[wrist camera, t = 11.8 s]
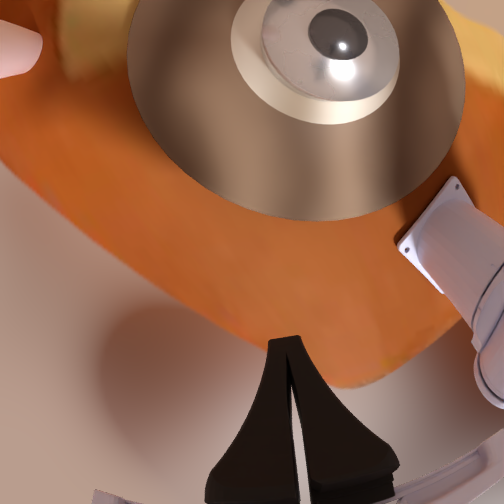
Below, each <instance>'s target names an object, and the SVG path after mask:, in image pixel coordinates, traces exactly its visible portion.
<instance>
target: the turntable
mask: <svg viewBox="0 0 504 504" xmlns="http://www.w3.org/2000/svg"><path fill="white" fill-rule="evenodd" d="M271 1H272V0H140V2H139V4H138V6H137V8H136V11H135V13H134V16H133V19H132V23H131V27H130V31H129V36H128V46H127V66H128V77H129V81H130V86H131V90H132V94H133V98H134V100H135V103H136V105H137V108H138V110H139V112H140V115H141V117H142V119H143V121H144V123H145V124H146V126H147V128H148V129H149V131H150V133H151V134H152V136H153V138H154V139H155V140H156V142H157V143H158V144H159V145H160V147H161V148H162V149H163V150H164V152H165V153H166V154H167V155H168V157H169V158H170V159H172V160H173V161H174V162H175V163H176V164H177V165H178V166H179V167H180V168H181V169H182V170H183V171H184V172H185V173H186V174H188V175H189V176H190V177H192V178H193V179H194V180H196V181H197V182H198V183H200V184H201V185H202V186H204V187H205V188H207V189H208V190H210V191H212V192H214V193H215V194H217V195H219V196H221V197H222V198H224V199H226V200H228V201H230V202H233V203H235V204H237V205H240V206H242V207H244V208H247V209H249V210H253V211H256V212H259V213H263V214H266V215H269V216H274V217H279V218H285V219H291V220H301V221H332V220H342V219H347V218H352V217H358V216H362V215H365V214H368V213H371V212H374V211H377V210H380V209H382V208H384V207H386V206H388V205H390V204H393V203H395V202H397V201H398V200H400V199H401V198H403V197H405V196H406V195H408V194H409V193H411V192H412V191H413V190H415V189H416V188H417V187H418V186H419V185H421V184H422V183H423V182H424V181H425V180H426V179H427V178H428V177H429V176H430V175H431V174H432V173H433V172H434V170H435V169H436V168H437V167H438V166H439V164H440V163H441V161H442V160H443V158H444V157H445V155H446V154H447V152H448V151H449V149H450V147H451V145H452V143H453V141H454V138H455V136H456V134H457V131H458V128H459V125H460V122H461V118H462V113H463V107H464V102H465V72H464V64H463V59H462V54H461V50H460V46H459V43H458V40H457V37H456V34H455V32H454V29H453V27H452V25H451V23H450V21H449V19H448V17H447V15H446V13H445V11H444V9H443V8H442V6H441V5H440V3H439V2H438V0H372V1H373V2H374V3H375V4H376V5H377V6H378V7H379V8H380V9H381V10H382V11H383V12H384V13H385V15H386V16H387V18H388V19H389V21H390V22H391V24H392V26H393V28H394V31H395V33H396V36H397V40H398V45H399V61H398V66H397V69H396V72H395V74H394V76H393V78H392V79H391V81H390V82H389V84H388V85H387V86H386V87H385V88H384V89H382V90H381V91H380V92H378V93H377V94H375V95H373V96H371V97H368V98H365V99H361V100H356V101H343V102H322V101H316V100H312V99H308V98H306V97H303V96H300V95H299V94H297V93H295V92H293V91H291V90H290V89H288V88H287V87H285V86H284V85H283V84H282V83H281V82H279V81H278V79H277V78H276V77H275V76H274V75H273V74H272V73H271V71H270V70H269V68H268V67H267V65H266V63H265V61H264V58H263V56H262V52H261V48H260V33H261V28H262V23H263V18H264V14H265V12H266V9H267V7H268V6H269V4H270V2H271Z"/></svg>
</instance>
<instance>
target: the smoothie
mask: <svg viewBox="0 0 504 504" xmlns="http://www.w3.org/2000/svg"><path fill="white" fill-rule="evenodd" d="M42 45H43V40H42V36H41V35H40V34H39V33H37V32H34V31H31V30H29V29H26V28H23V27H21V26H18V25H15V24H12V23H9V22H6V21H3V20H0V78H4V77H9V76H13V75H18V74H23V73H26V72H27V71H29V70H30V69H31V68H32V67H33V66H34V65H35V63H36V62H37V60H38V58H39V56H40V53H41V50H42Z"/></svg>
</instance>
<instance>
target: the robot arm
mask: <svg viewBox="0 0 504 504" xmlns="http://www.w3.org/2000/svg"><path fill="white" fill-rule="evenodd" d="M456 184H457V186H456ZM455 186H456V188H455ZM405 248H407V249H406V250H405ZM397 249H398V250H399V251H400V252H401V253H402V254H403V255H404V256H405V257H406V258H407V259H408V260H409V261H410V262H411V263H412V264H413V265H414V266H415V267H416V268H417V269H418V270H419V271H420V272H421V273H422V274H423V275H424V276H425V277H426V278H427V279H428V280H429V281H430V282H431V283H432V284H433V285H434V286H435V287H436V288H437V289H438V290H439V292H440V293H442V294H445V295H446V296H447V297H448V299H449V300H450V301H451V302H452V304H453V305H454V306H455V308H456V309H457V310H458V311H459V313H460V314H461V315H462V317H463V318H464V319H465V321H466V322H467V323H468V325H469V326H470V328H471V329H472V330H473V332H474V336H473V339H472V341H471V343H472V344H473V345H474V347H475V349H476V350H477V352H478V353H477V355H476V357H475V361H474V375H475V380H476V382H477V385H478V387H479V389H480V391H481V392H482V394H483V395H484V397H485V398H486V399H487V400H488V401H489V402H491V403H492V404H493V405H495V406H497V407H499V408H502V409H504V227H503V226H501V225H500V224H499V223H497V222H496V221H494V220H493V219H491V218H490V217H489V216H487V215H486V214H484V213H483V212H481V211H480V210H478V209H477V208H475V206H474V205H473V203H472V201H471V199H470V198H469V196H468V194H467V193H466V191H465V189H464V188H463V186H462V185H461V183H460V181H459V180H458V178H457V177H455V176H451V177H450V178H449V179H448V181H447V182H446V183H445V185H444V186H443V187H442V189H441V190H440V192H439V193H438V194H437V195H436V197H435V198H434V199H433V201H432V202H431V203H430V205H429V206H428V207H427V208H426V210H425V211H424V212H423V213H422V215H421V216H420V217H419V218H418V220H417V221H416V222H415V223H414V224H413V226H412V227H411V228H410V229H409V230H408V232H407V233H406V234H405V235H404V236H403V238H402V239H401V240H400V241H399V242H398V244H397ZM291 386H292V390H293V394H294V398H295V403H296V406H297V411H298V415H299V419H300V423H301V428H302V434H303V442H304V450H305V457H306V466H307V473H308V483H309V492H310V501H311V504H385V503H388V502H391V501H394V500H396V499H399V498H400V499H399V500H398V501H397V503H396V504H469V503H470V502H471V501H473V500H474V499H476V498H477V497H479V496H480V495H481V494H482V493H484V492H485V491H487V490H488V489H489V488H491V487H492V486H493V485H494V484H496V483H497V482H498V481H500V480H501V479H502V478H503V477H504V428H502V429H501V430H499V431H498V432H497V433H495V434H494V435H492V436H491V437H489V438H488V439H486V440H485V441H484V442H482V443H481V444H480V445H478V447H476V448H475V449H473V450H472V451H470V452H468V453H467V454H465V455H463V456H461V457H460V458H458V459H456V460H454V461H452V462H451V463H449V464H447V465H445V466H443V467H441V468H439V469H437V470H435V471H433V472H430V473H428V474H426V475H424V476H422V477H419V478H417V479H415V480H412V481H410V482H407V483H405V484H402V485H399V486H397V487H393V483H392V481H393V480H394V478H393V474H392V473H393V472H394V471H395V470H397V468H398V467H399V466H400V464H399V461H398V458H397V456H396V454H395V453H394V451H393V449H392V448H391V447H390V445H389V444H387V443H386V442H385V441H383V440H382V439H380V438H379V437H378V436H376V435H375V434H374V433H373V432H371V431H370V430H369V429H368V428H367V427H366V426H365V425H363V424H362V423H361V422H360V421H359V420H358V419H357V418H356V417H355V416H354V415H353V414H352V413H351V412H350V411H349V410H348V409H347V408H346V407H345V406H344V405H343V404H342V403H341V401H340V400H339V399H338V398H337V397H336V395H335V394H334V393H333V392H332V390H331V389H330V388H329V386H328V385H327V384H326V382H325V381H324V380H323V378H322V377H321V375H320V374H319V372H318V370H317V369H316V367H315V366H314V364H313V362H312V361H311V359H310V357H309V355H308V353H307V351H306V349H305V347H304V345H303V342H302V340H301V336H299V335H295V336H289V337H283V338H277V339H270V340H269V341H268V352H267V358H266V363H265V368H264V371H263V375H262V379H261V382H260V385H259V388H258V391H257V394H256V397H255V399H254V402H253V404H252V406H251V409H250V411H249V413H248V415H247V418H246V419H245V421H244V423H243V425H242V427H241V429H240V431H239V432H238V434H237V436H236V437H235V439H234V440H233V442H232V444H231V445H230V447H229V448H228V450H227V451H226V453H225V454H224V455H223V457H222V458H221V459H220V460H219V462H218V463H217V464H216V465H215V467H214V468H213V469H212V470H211V472H210V474H209V477H208V479H207V483H206V487H205V503H207V504H300V501H301V500H300V491H299V483H298V474H297V465H296V457H295V449H294V440H293V430H292V401H291V400H292V399H291ZM92 504H142V503H137V502H133V501H129V500H125V499H123V498H121V497H118V496H116V495H112V494H109V493H106V492H103V491H100V490H97V489H95V490H94V494H93V500H92Z"/></svg>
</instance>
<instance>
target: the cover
mask: <svg viewBox="0 0 504 504" xmlns="http://www.w3.org/2000/svg"><path fill="white" fill-rule="evenodd" d="M260 48H261V52H262V56H263V58H264V61H265V63H266V65H267V67H268V68H269V70H270V71H271V73H272V74H273V75H274V76H275V77H276V78H277V79H278V81H279V82H281V83H282V84H283V85H284V86H285V87H287V88H288V89H290V90H291V91H293V92H295V93H297V94H299V95H300V96H303V97H306V98H308V99H312V100H316V101H322V102H343V101H356V100H361V99H365V98H368V97H371V96H373V95H375V94H377V93H378V92H380V91H381V90H382V89H384V88H385V87H386V86H387V85H388V84H389V82H390V81H391V79H392V78H393V76H394V74H395V72H396V69H397V66H398V61H399V45H398V40H397V36H396V33H395V31H394V28H393V26H392V24H391V22H390V21H389V19H388V18H387V16H386V15H385V13H384V12H383V11H382V10H381V9H380V8H379V7H378V6H377V5H376V4H375V3H374V2H373V1H372V0H272V1H271V2H270V4H269V6H268V7H267V9H266V12H265V14H264V18H263V23H262V28H261V33H260Z"/></svg>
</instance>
